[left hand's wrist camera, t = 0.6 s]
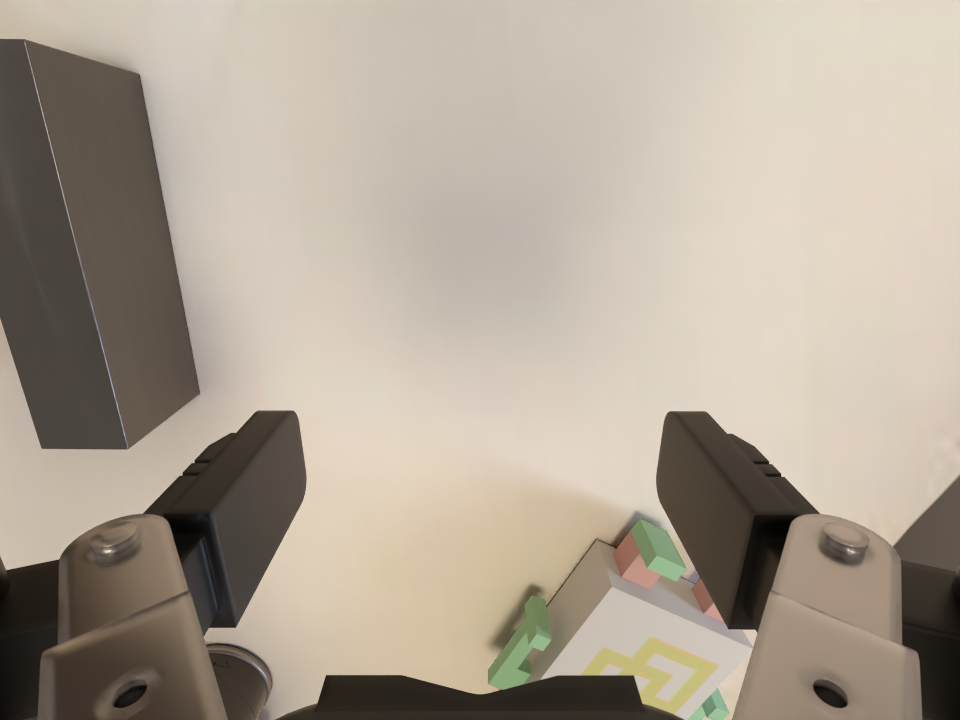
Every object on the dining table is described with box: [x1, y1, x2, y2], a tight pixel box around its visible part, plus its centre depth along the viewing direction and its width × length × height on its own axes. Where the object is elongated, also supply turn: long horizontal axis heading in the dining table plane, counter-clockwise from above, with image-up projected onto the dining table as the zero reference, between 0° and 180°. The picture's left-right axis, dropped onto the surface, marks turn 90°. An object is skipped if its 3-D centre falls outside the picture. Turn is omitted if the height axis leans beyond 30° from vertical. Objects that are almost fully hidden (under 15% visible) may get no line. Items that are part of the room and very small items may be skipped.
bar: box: [0, 39, 200, 449], centre depth 34 cm, size 23×6×9 cm, turn 179°
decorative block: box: [488, 518, 753, 720], centre depth 47 cm, size 26×6×20 cm
